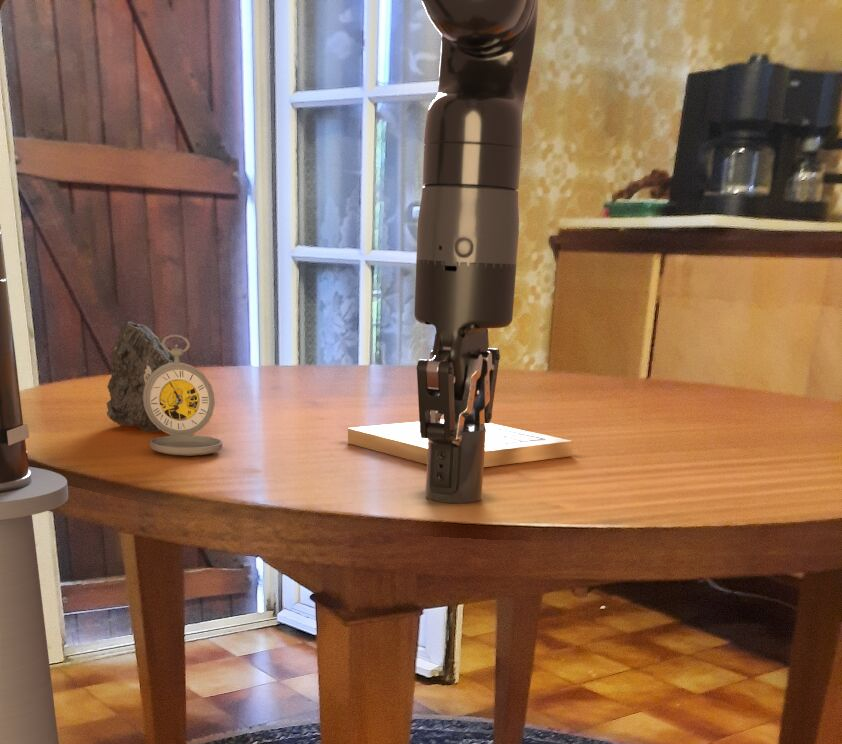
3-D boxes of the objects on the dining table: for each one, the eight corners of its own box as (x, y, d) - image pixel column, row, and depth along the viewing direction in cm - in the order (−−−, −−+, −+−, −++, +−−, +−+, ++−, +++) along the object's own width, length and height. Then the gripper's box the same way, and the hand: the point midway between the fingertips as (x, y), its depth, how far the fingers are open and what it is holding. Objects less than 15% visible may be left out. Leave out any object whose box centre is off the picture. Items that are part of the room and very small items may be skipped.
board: (452, 471, 97) (453, 454, 97) (347, 443, 108) (347, 427, 107) (571, 456, 107) (573, 440, 106) (464, 431, 118) (465, 417, 117)
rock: (80, 393, 113) (113, 304, 108) (159, 413, 120) (193, 331, 115) (125, 453, 107) (162, 362, 102) (206, 471, 114) (244, 386, 109)
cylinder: (451, 506, 85) (455, 433, 82) (414, 494, 88) (416, 424, 85) (493, 499, 87) (498, 429, 85) (455, 488, 91) (459, 420, 88)
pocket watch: (184, 461, 96) (177, 343, 92) (123, 448, 100) (114, 335, 96) (249, 450, 102) (246, 339, 98) (189, 439, 106) (183, 331, 102)
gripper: (449, 254, 87) (439, 467, 94) (384, 254, 75) (378, 498, 82) (538, 259, 85) (521, 476, 92) (487, 259, 73) (471, 509, 80)
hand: (454, 485), depth 87 cm, fingers closed on cylinder, 4 cm apart
